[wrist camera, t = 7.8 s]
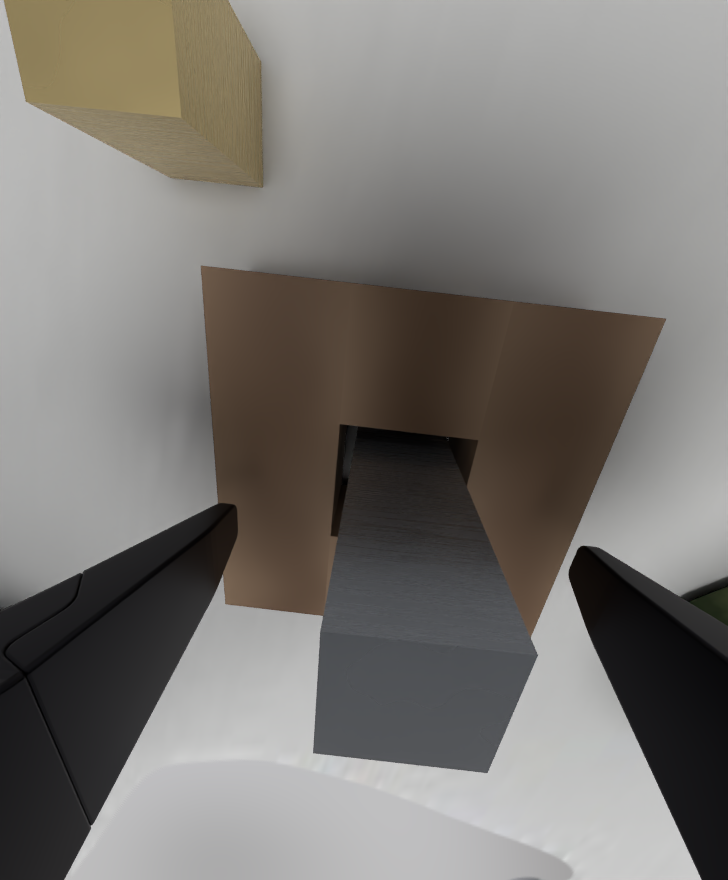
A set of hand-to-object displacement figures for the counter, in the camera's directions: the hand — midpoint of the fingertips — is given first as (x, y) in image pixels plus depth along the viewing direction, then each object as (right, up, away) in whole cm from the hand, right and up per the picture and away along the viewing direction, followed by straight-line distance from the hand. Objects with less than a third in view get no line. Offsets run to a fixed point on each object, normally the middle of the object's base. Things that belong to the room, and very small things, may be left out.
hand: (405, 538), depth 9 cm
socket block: (0, +2, +5) cm, 6 cm away
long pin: (0, +2, +5) cm, 6 cm away
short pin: (-6, +12, +2) cm, 14 cm away
